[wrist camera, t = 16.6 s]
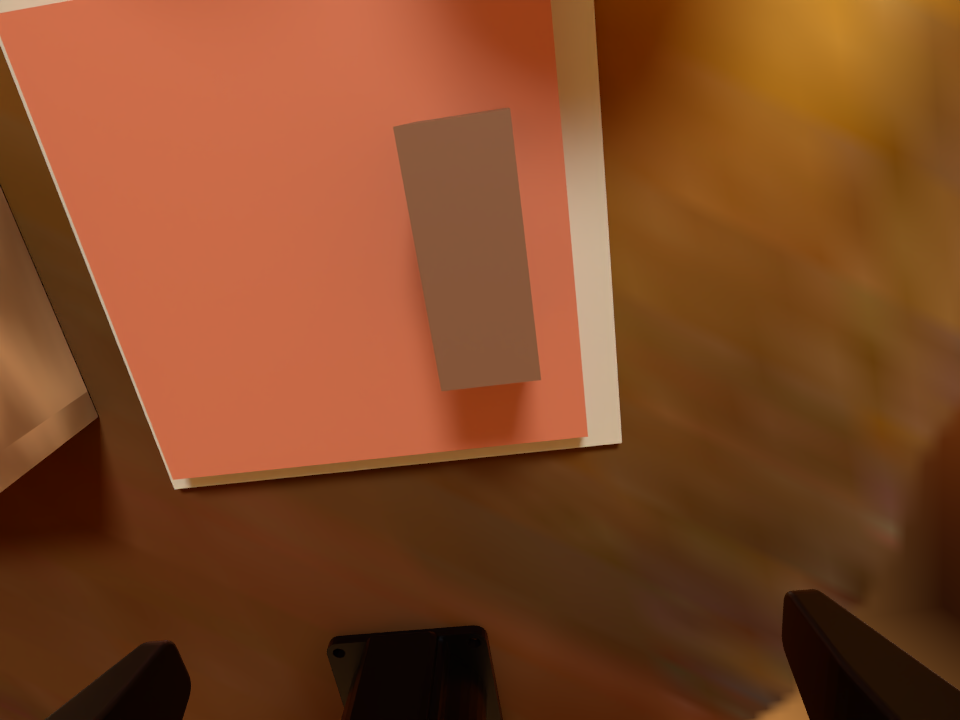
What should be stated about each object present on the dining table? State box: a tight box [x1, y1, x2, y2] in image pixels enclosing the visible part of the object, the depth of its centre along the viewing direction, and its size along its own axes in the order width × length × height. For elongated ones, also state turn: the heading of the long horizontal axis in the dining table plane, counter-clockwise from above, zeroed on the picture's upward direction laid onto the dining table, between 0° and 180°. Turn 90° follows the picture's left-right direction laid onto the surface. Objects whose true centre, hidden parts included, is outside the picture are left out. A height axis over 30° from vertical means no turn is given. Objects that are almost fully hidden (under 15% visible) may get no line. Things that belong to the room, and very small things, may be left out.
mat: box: [0, 0, 622, 489], centre depth 19 cm, size 16×16×1 cm
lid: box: [0, 0, 588, 480], centre depth 16 cm, size 14×14×5 cm
